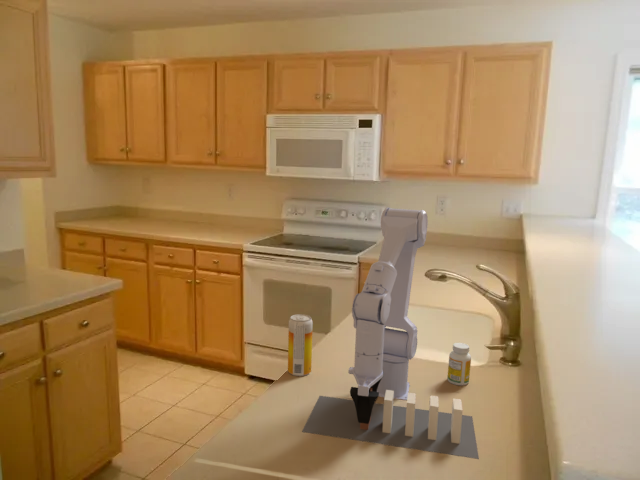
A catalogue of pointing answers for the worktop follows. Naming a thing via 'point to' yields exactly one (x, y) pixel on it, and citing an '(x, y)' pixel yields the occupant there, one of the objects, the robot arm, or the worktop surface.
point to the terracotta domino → (363, 425)
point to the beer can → (300, 345)
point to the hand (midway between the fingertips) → (366, 413)
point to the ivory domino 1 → (388, 411)
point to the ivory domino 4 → (456, 421)
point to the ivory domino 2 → (410, 414)
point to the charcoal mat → (343, 423)
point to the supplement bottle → (459, 364)
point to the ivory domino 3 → (433, 417)
